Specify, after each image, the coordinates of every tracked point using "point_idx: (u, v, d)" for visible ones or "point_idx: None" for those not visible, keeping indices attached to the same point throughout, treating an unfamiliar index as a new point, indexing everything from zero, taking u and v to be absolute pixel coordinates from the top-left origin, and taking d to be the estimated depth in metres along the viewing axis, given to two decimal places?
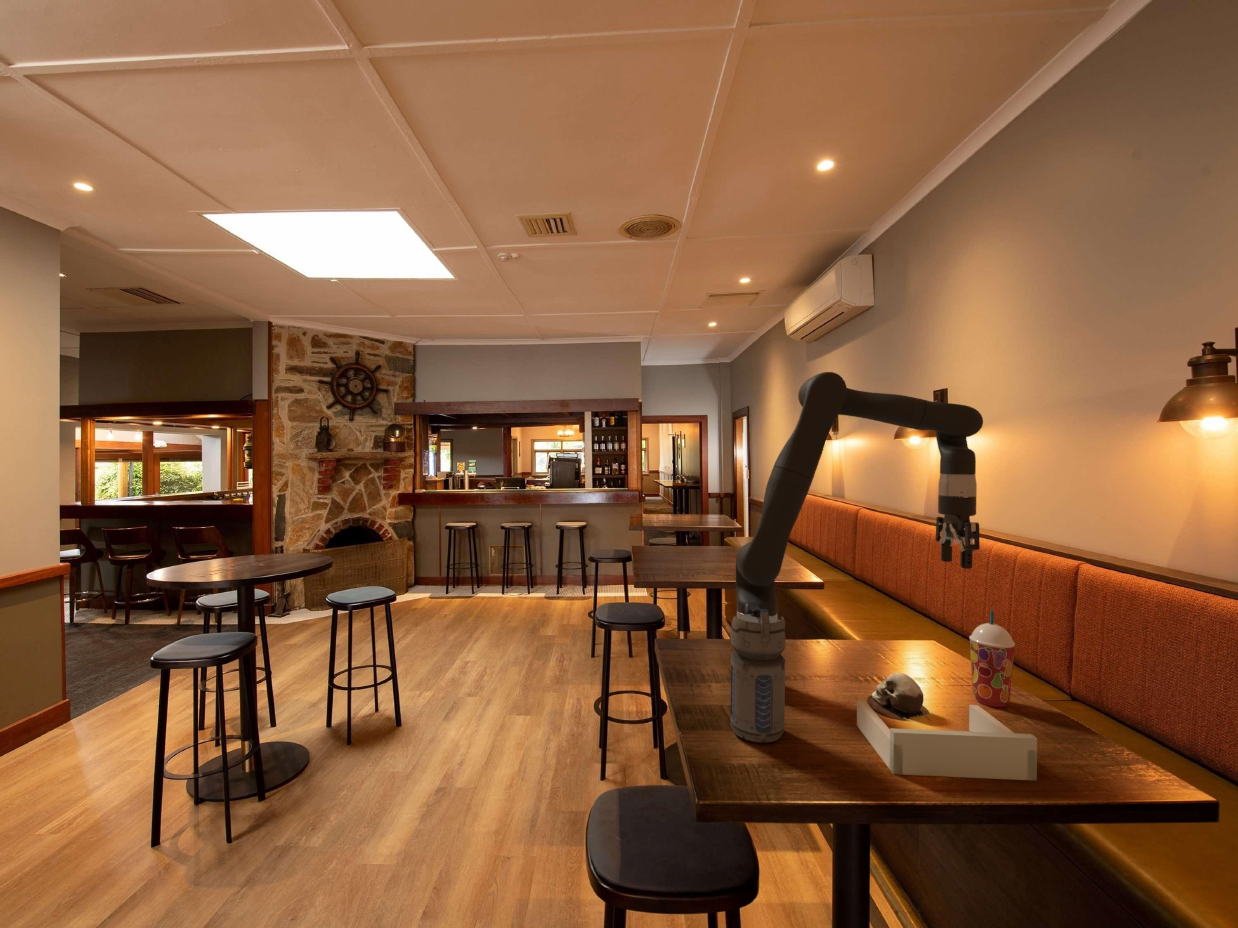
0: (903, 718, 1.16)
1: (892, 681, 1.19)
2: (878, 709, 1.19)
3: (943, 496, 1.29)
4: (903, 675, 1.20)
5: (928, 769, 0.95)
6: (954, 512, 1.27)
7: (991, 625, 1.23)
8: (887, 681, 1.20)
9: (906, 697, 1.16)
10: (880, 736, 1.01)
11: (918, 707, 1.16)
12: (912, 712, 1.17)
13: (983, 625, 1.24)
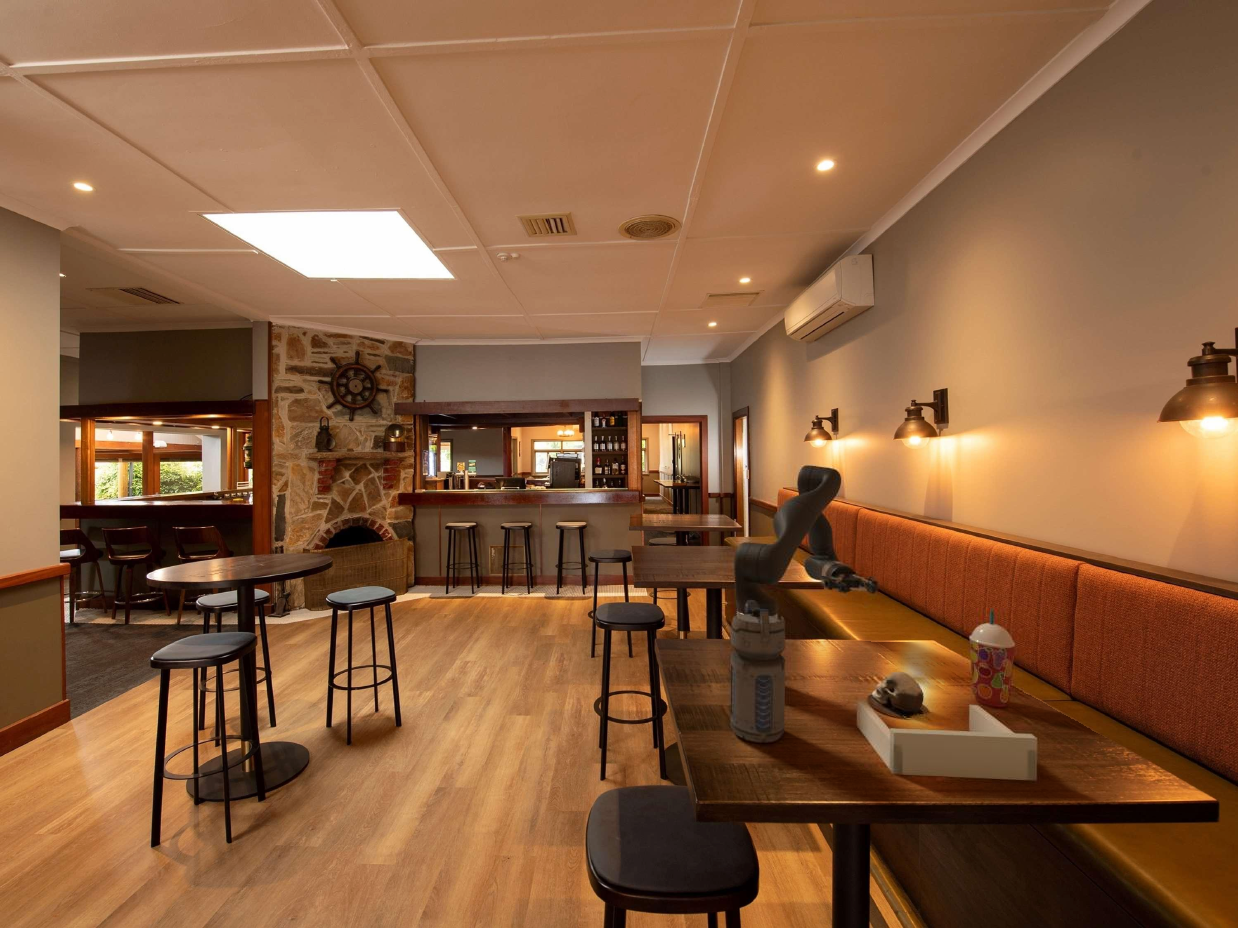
0: (903, 717, 1.16)
1: (893, 680, 1.20)
2: (878, 708, 1.20)
3: (844, 564, 1.60)
4: (903, 674, 1.20)
5: (928, 769, 0.95)
6: (854, 571, 1.57)
7: (991, 625, 1.23)
8: (887, 680, 1.21)
9: (906, 696, 1.17)
10: (880, 736, 1.01)
11: (918, 706, 1.17)
12: (912, 711, 1.17)
13: (983, 625, 1.24)
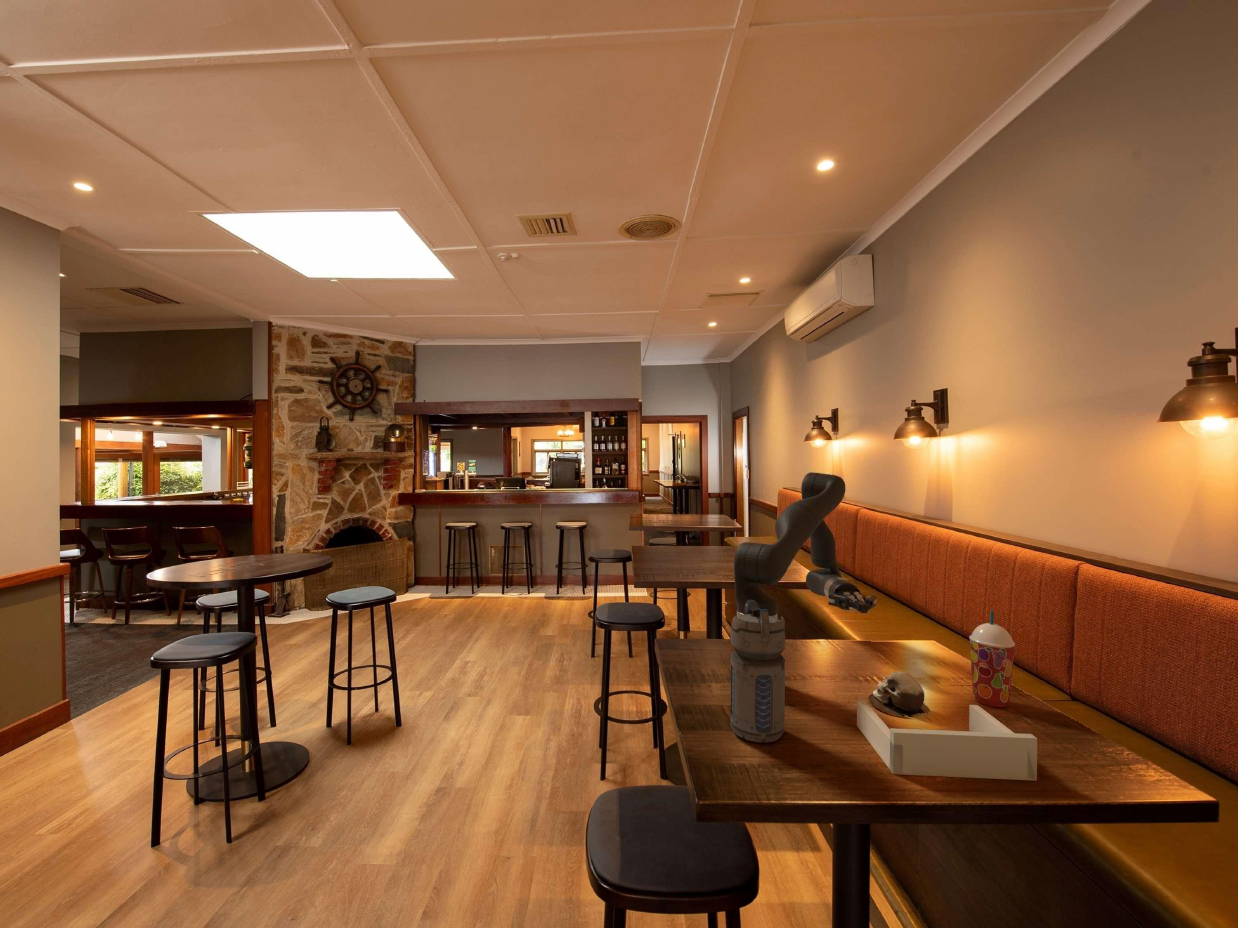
0: (905, 716, 1.17)
1: (894, 680, 1.20)
2: (880, 707, 1.20)
3: (846, 580, 1.57)
4: (904, 673, 1.21)
5: (928, 769, 0.95)
6: None
7: (991, 625, 1.23)
8: (888, 679, 1.21)
9: (907, 695, 1.17)
10: (880, 736, 1.01)
11: (919, 705, 1.17)
12: (913, 710, 1.18)
13: (983, 625, 1.24)
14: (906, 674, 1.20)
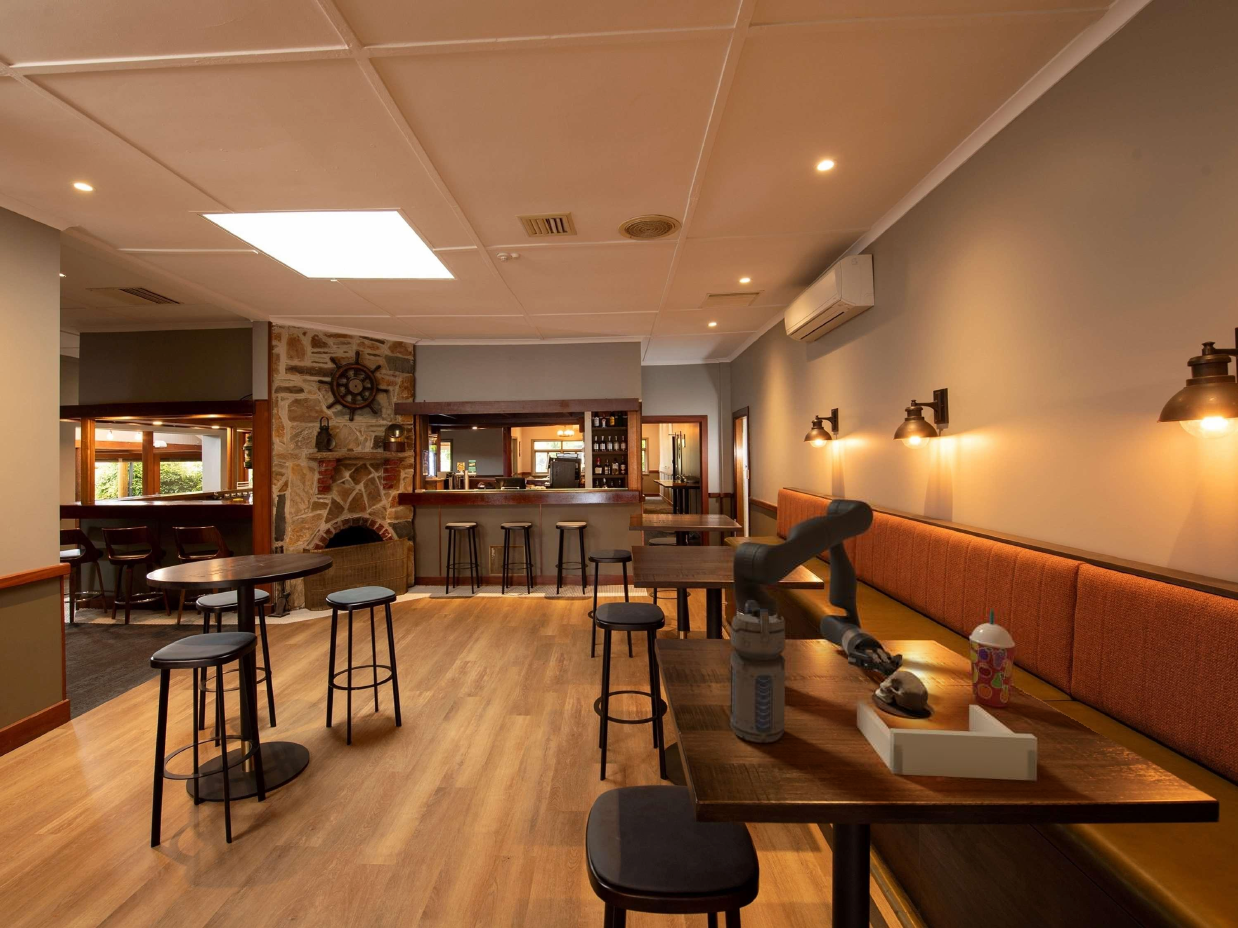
0: (909, 715, 1.17)
1: (897, 679, 1.20)
2: (884, 707, 1.20)
3: (868, 634, 1.41)
4: (908, 673, 1.21)
5: (928, 769, 0.95)
6: None
7: (991, 625, 1.23)
8: (892, 679, 1.21)
9: (912, 694, 1.17)
10: (880, 736, 1.01)
11: (923, 704, 1.17)
12: (917, 709, 1.18)
13: (983, 625, 1.24)
14: (909, 673, 1.20)
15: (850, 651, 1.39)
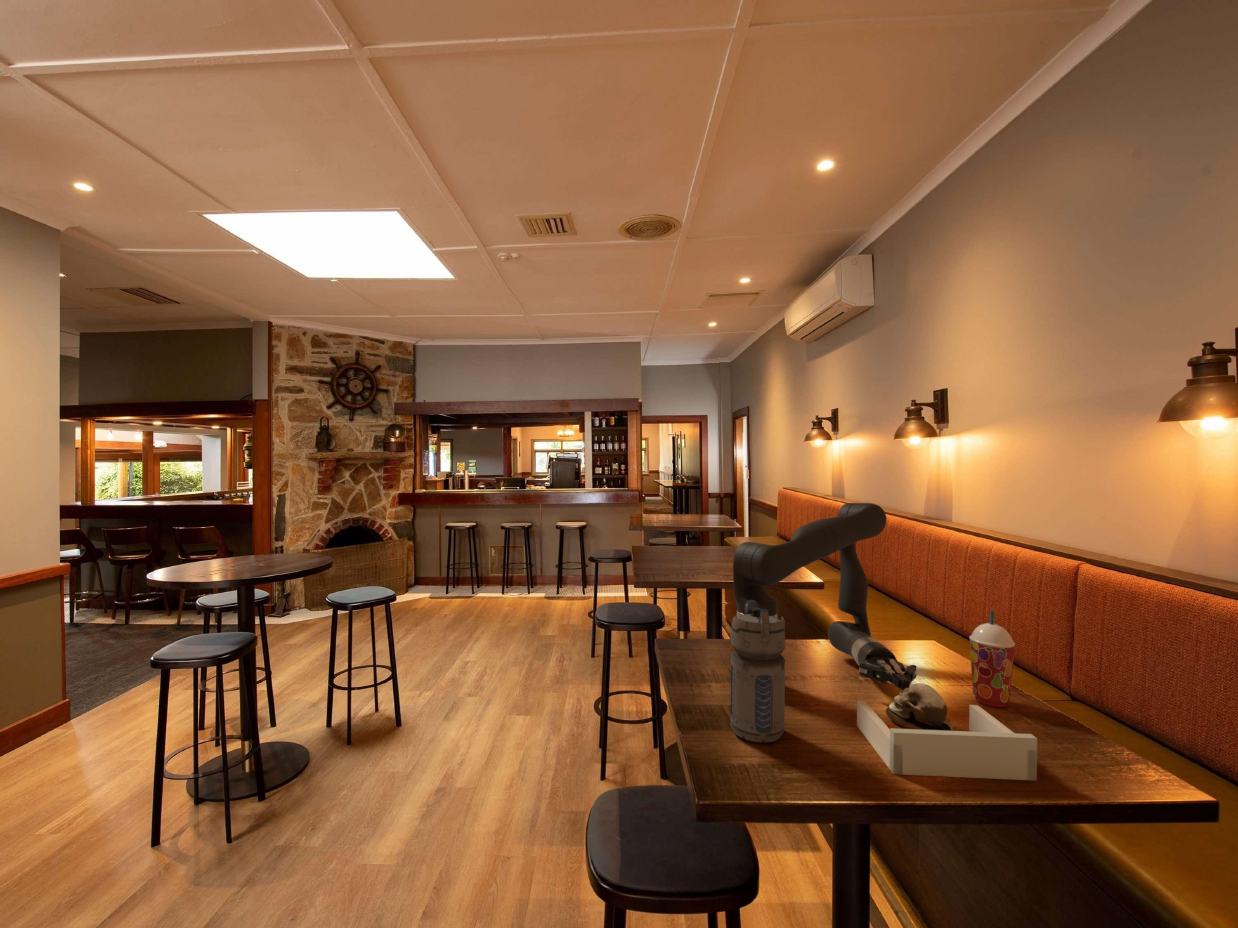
0: None
1: (915, 693, 1.13)
2: (902, 723, 1.12)
3: (879, 643, 1.34)
4: (925, 685, 1.14)
5: (928, 769, 0.95)
6: (893, 654, 1.30)
7: (991, 625, 1.23)
8: (909, 693, 1.14)
9: (932, 709, 1.10)
10: (880, 736, 1.01)
11: (944, 719, 1.11)
12: (937, 724, 1.11)
13: (983, 625, 1.24)
14: (927, 686, 1.14)
15: (861, 661, 1.32)
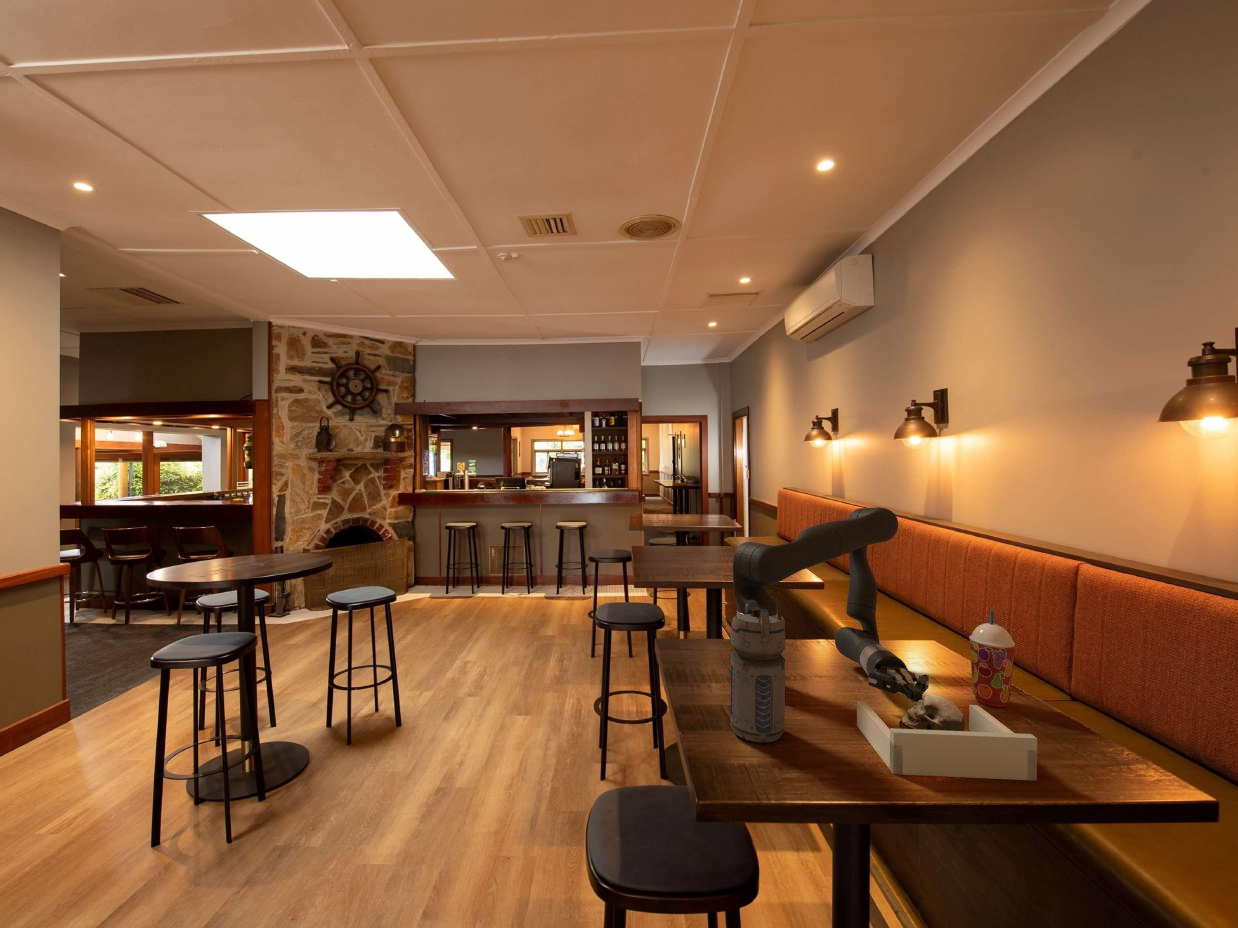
0: None
1: (932, 706, 1.07)
2: None
3: (889, 651, 1.28)
4: (941, 697, 1.08)
5: (928, 769, 0.95)
6: (904, 663, 1.25)
7: (991, 625, 1.23)
8: (926, 706, 1.08)
9: (952, 723, 1.05)
10: (880, 736, 1.01)
11: None
12: None
13: (983, 625, 1.24)
14: (943, 698, 1.08)
15: (870, 670, 1.26)
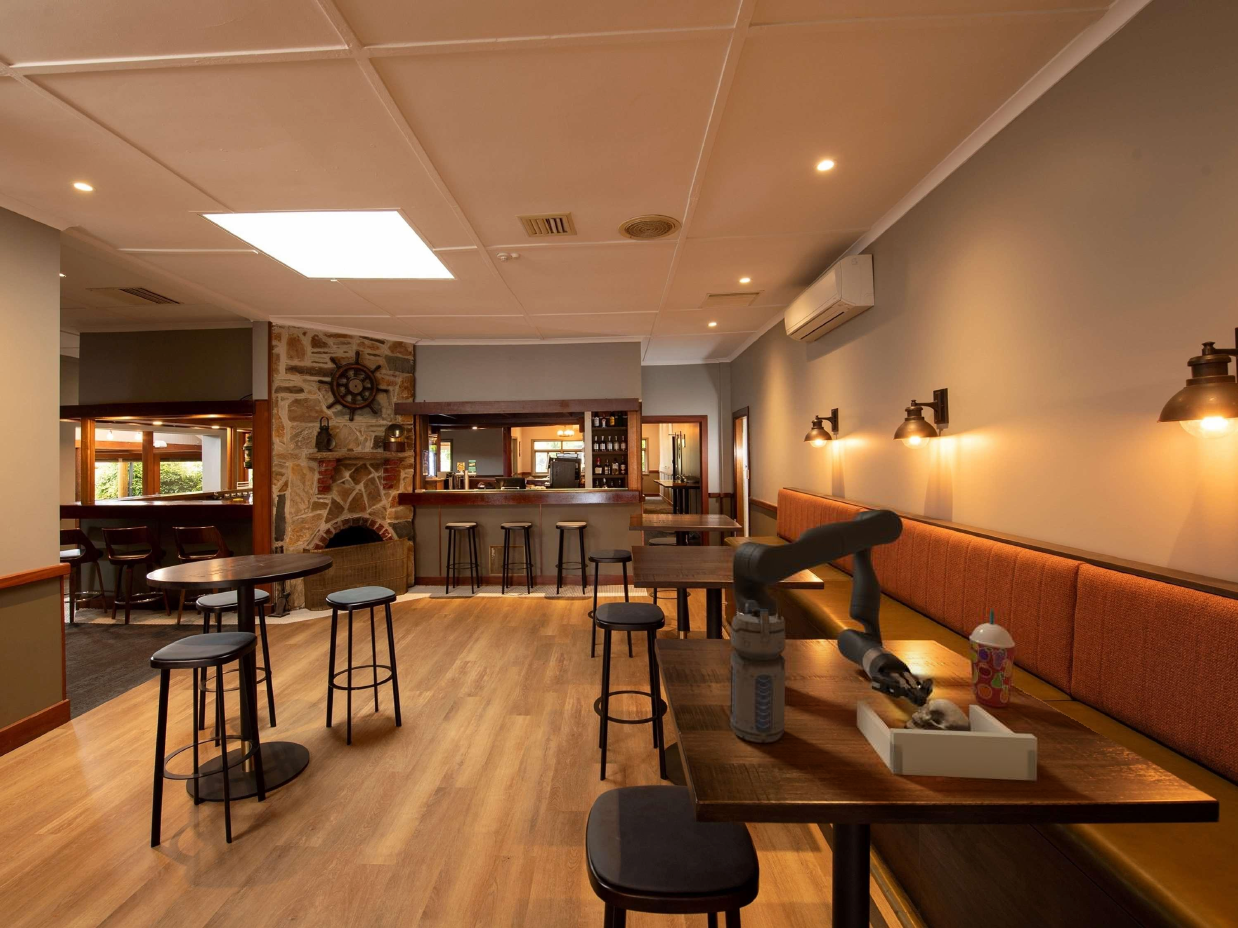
0: None
1: (938, 710, 1.06)
2: None
3: (892, 654, 1.26)
4: (947, 702, 1.06)
5: (928, 769, 0.95)
6: (907, 666, 1.23)
7: (991, 625, 1.23)
8: (931, 710, 1.06)
9: (958, 728, 1.03)
10: (880, 736, 1.01)
11: None
12: None
13: (983, 625, 1.24)
14: (949, 702, 1.06)
15: (873, 674, 1.25)
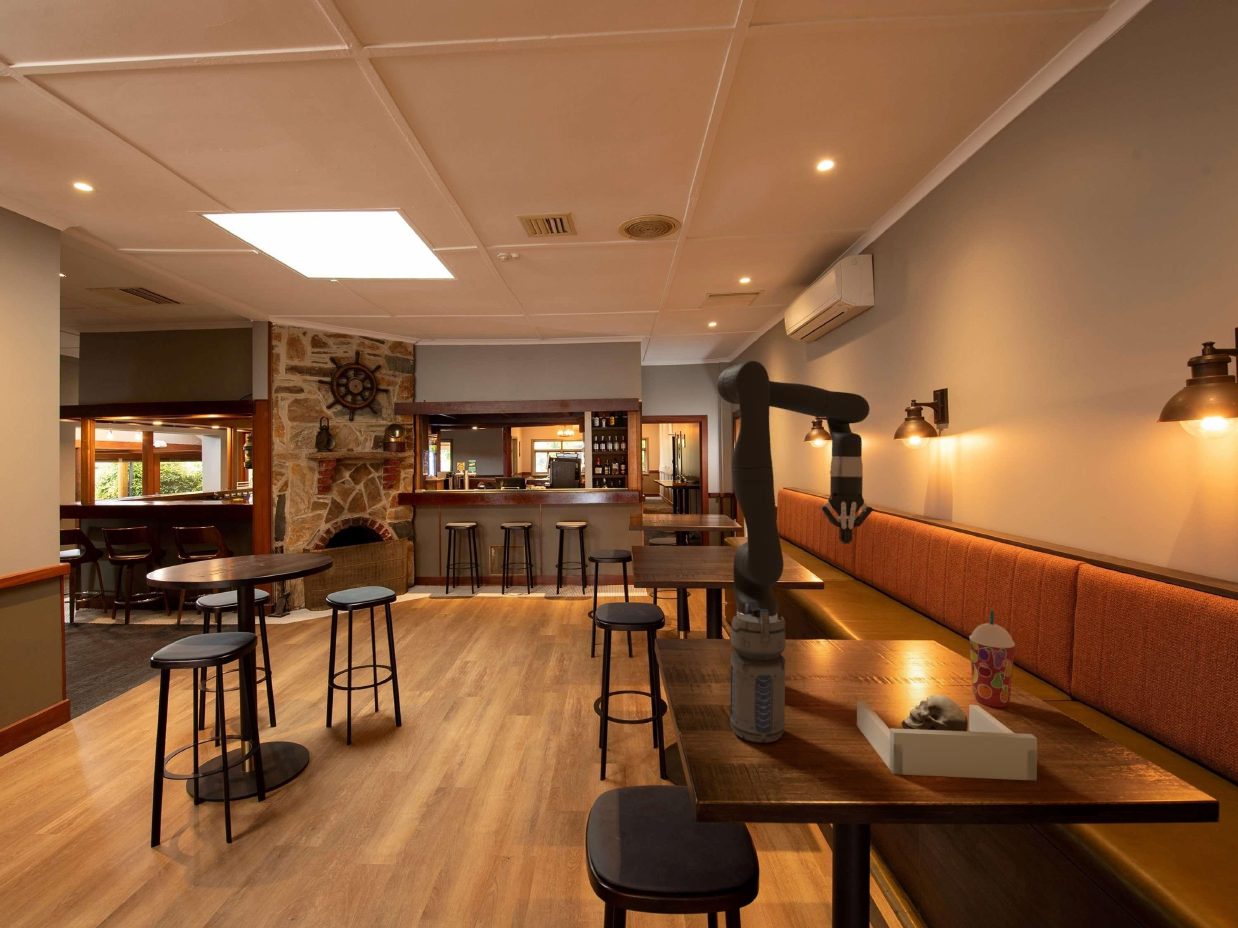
0: None
1: (936, 706, 1.08)
2: None
3: (856, 477, 1.39)
4: (944, 697, 1.08)
5: (928, 769, 0.95)
6: (861, 491, 1.40)
7: (991, 625, 1.23)
8: (929, 706, 1.08)
9: (956, 723, 1.05)
10: (880, 736, 1.01)
11: None
12: None
13: (983, 625, 1.24)
14: (946, 698, 1.08)
15: (830, 485, 1.43)
